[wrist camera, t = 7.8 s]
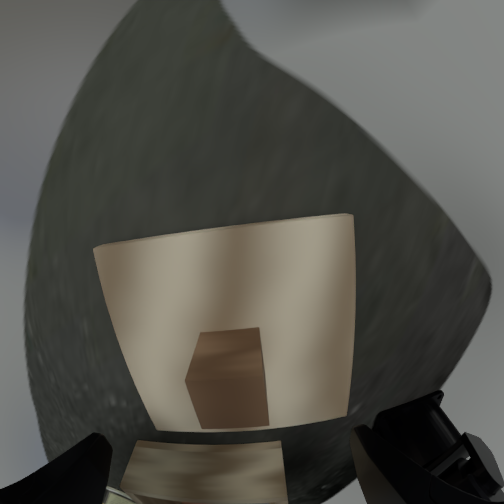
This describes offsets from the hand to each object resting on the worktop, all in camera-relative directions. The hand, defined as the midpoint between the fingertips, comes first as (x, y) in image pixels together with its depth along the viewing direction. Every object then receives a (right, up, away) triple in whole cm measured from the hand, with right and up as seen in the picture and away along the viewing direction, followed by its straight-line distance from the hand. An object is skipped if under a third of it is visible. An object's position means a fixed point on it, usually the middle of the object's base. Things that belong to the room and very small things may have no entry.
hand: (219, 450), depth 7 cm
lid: (0, +2, +8) cm, 8 cm away
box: (-2, -14, +11) cm, 18 cm away
